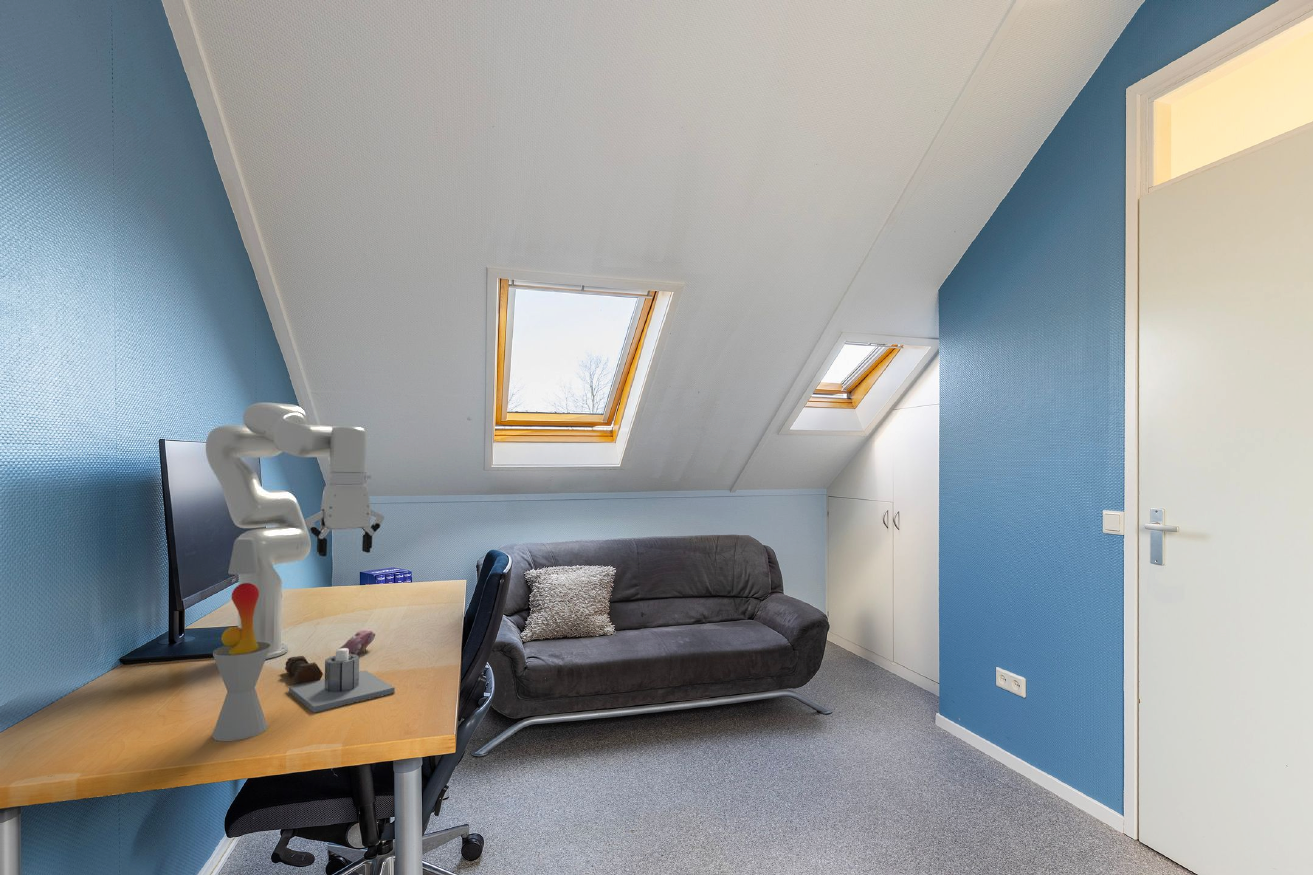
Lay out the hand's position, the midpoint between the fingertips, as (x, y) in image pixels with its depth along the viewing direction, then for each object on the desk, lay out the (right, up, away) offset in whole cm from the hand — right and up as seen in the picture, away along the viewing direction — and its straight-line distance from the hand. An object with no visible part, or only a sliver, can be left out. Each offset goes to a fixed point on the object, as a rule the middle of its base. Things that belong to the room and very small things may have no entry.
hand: (344, 553), depth 157 cm
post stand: (+5, -27, -13) cm, 31 cm away
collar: (+5, -26, -13) cm, 30 cm away
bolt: (-8, -28, -4) cm, 29 cm away
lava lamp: (-4, -27, -33) cm, 43 cm away
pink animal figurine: (-4, -28, +15) cm, 32 cm away
